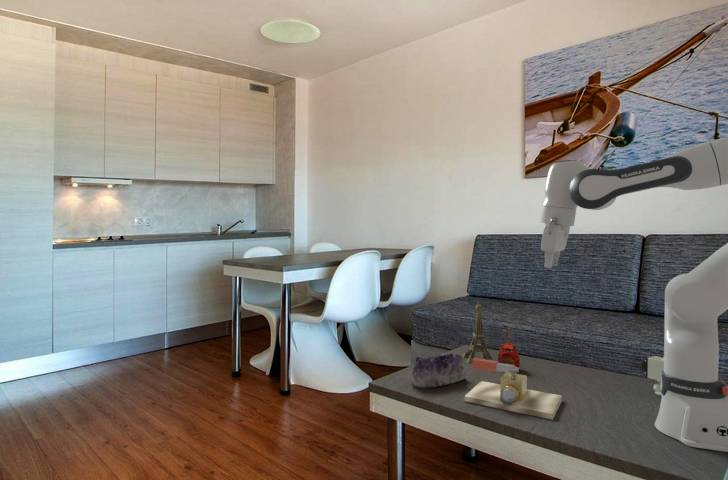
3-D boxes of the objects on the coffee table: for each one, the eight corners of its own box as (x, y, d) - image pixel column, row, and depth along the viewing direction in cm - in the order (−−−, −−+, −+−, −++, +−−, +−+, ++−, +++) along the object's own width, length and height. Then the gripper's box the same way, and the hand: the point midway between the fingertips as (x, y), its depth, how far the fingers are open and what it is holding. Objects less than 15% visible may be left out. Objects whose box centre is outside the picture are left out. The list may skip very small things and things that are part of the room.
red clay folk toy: (497, 370, 164) (497, 328, 164) (497, 365, 171) (498, 324, 170) (519, 373, 162) (520, 330, 161) (519, 367, 168) (520, 326, 168)
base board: (561, 400, 136) (562, 395, 136) (552, 419, 122) (552, 413, 122) (481, 385, 148) (481, 381, 148) (464, 401, 134) (464, 396, 134)
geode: (431, 394, 140) (427, 361, 141) (404, 389, 149) (401, 358, 150) (473, 378, 153) (469, 348, 154) (446, 374, 162) (443, 346, 163)
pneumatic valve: (682, 403, 135) (683, 362, 134) (640, 391, 145) (641, 352, 144) (691, 399, 138) (692, 359, 137) (649, 388, 148) (650, 350, 147)
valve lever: (519, 375, 135) (519, 364, 135) (517, 377, 133) (517, 366, 133) (474, 367, 142) (475, 357, 142) (472, 370, 140) (472, 359, 140)
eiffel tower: (495, 363, 173) (497, 296, 172) (467, 363, 173) (468, 296, 172) (487, 356, 183) (488, 293, 183) (461, 355, 183) (462, 292, 183)
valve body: (530, 391, 140) (530, 371, 140) (517, 408, 127) (518, 386, 126) (509, 387, 143) (510, 368, 143) (495, 404, 130) (495, 382, 130)
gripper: (564, 218, 120) (556, 271, 121) (574, 220, 138) (567, 266, 139) (539, 215, 123) (531, 267, 124) (551, 218, 141) (545, 263, 142)
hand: (550, 266), depth 132 cm, fingers open, 8 cm apart
